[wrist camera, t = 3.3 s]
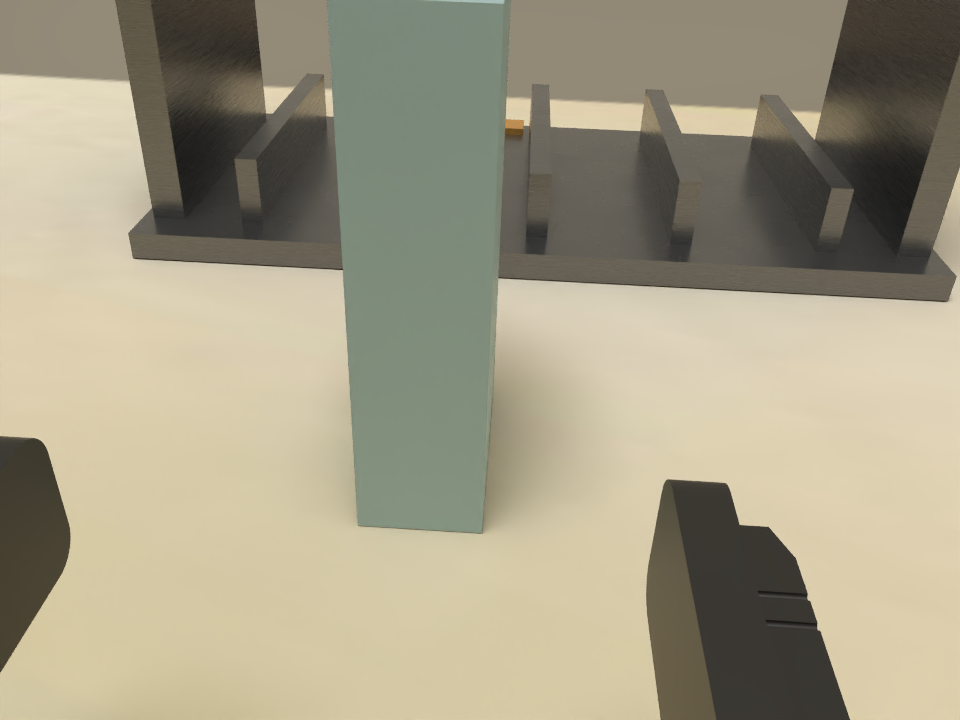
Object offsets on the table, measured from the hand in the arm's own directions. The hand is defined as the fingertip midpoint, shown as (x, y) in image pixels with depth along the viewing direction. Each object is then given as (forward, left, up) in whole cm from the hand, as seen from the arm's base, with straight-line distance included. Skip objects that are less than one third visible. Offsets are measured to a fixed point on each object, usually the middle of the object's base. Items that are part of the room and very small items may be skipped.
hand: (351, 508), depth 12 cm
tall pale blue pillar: (0, +10, -7) cm, 12 cm away
